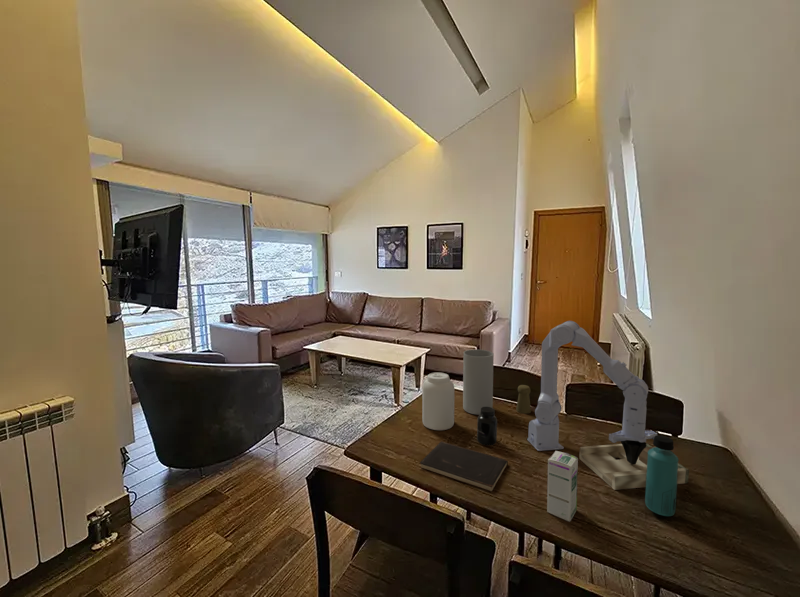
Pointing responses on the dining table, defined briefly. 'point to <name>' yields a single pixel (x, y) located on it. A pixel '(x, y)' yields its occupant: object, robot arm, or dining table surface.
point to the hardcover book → (465, 465)
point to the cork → (523, 400)
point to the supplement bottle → (487, 426)
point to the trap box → (620, 467)
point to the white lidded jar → (438, 402)
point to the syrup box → (562, 485)
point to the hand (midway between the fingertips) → (631, 462)
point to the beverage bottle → (661, 477)
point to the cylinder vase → (477, 380)
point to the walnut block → (644, 455)
